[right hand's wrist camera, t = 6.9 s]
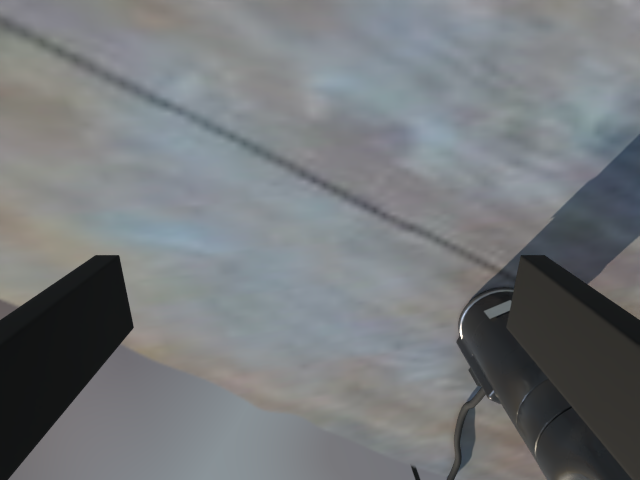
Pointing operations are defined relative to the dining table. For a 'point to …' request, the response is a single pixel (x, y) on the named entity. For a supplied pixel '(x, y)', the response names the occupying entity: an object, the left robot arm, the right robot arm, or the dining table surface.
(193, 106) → the dining table surface
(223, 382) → the dining table surface
